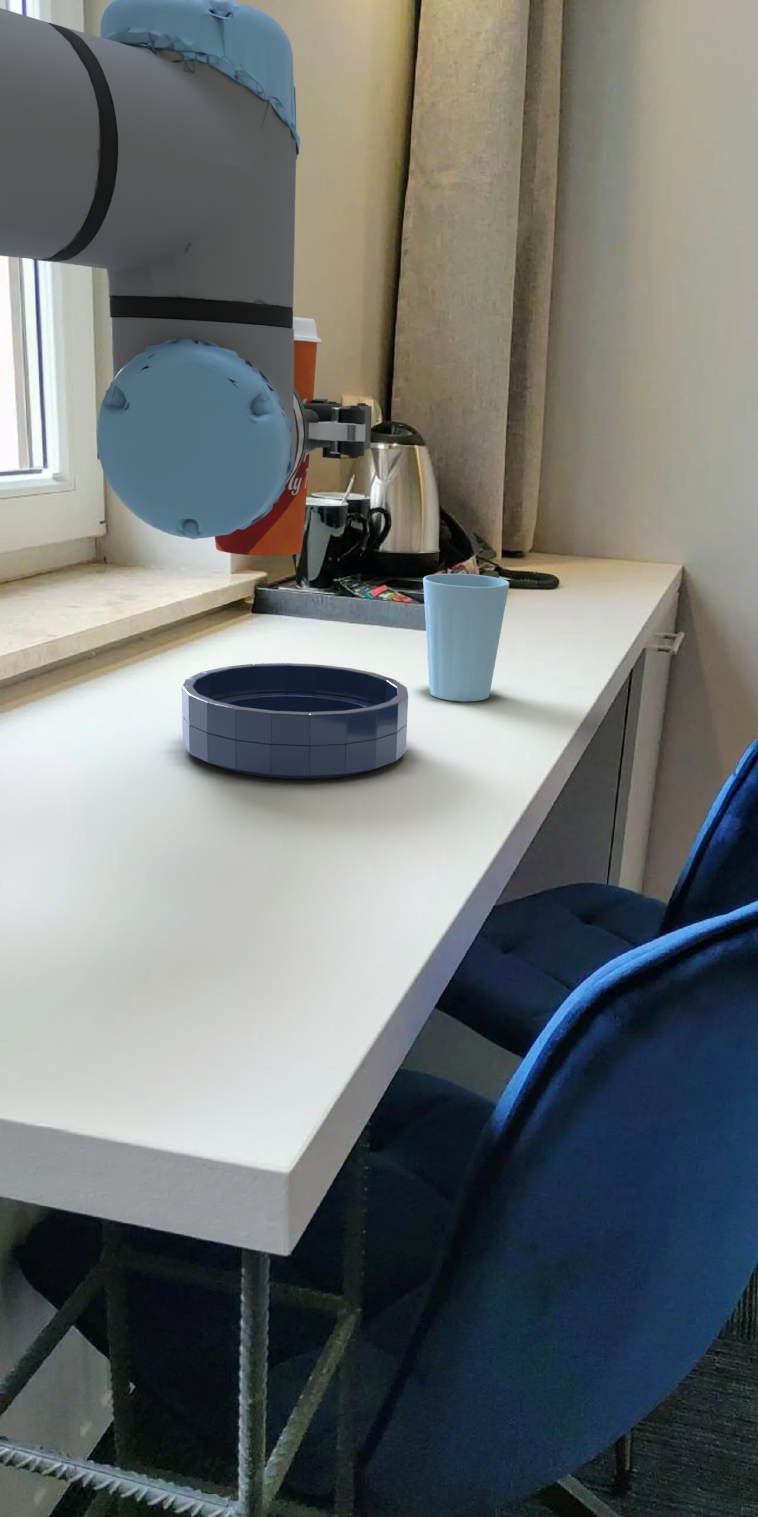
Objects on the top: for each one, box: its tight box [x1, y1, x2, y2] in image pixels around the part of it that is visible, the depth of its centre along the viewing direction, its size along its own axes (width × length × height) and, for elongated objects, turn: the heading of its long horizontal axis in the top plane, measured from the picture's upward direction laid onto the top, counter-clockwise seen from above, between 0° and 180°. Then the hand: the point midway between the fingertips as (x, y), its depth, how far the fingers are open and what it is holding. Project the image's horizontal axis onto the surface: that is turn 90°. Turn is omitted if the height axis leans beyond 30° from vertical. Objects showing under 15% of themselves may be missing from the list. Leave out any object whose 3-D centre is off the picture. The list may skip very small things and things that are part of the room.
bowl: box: [181, 662, 409, 780], centre depth 97 cm, size 17×17×5 cm
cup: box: [422, 573, 510, 702], centre depth 117 cm, size 8×8×10 cm
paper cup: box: [214, 316, 323, 557], centre depth 81 cm, size 8×8×14 cm
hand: (265, 417), depth 86 cm, fingers closed on paper cup, 7 cm apart
